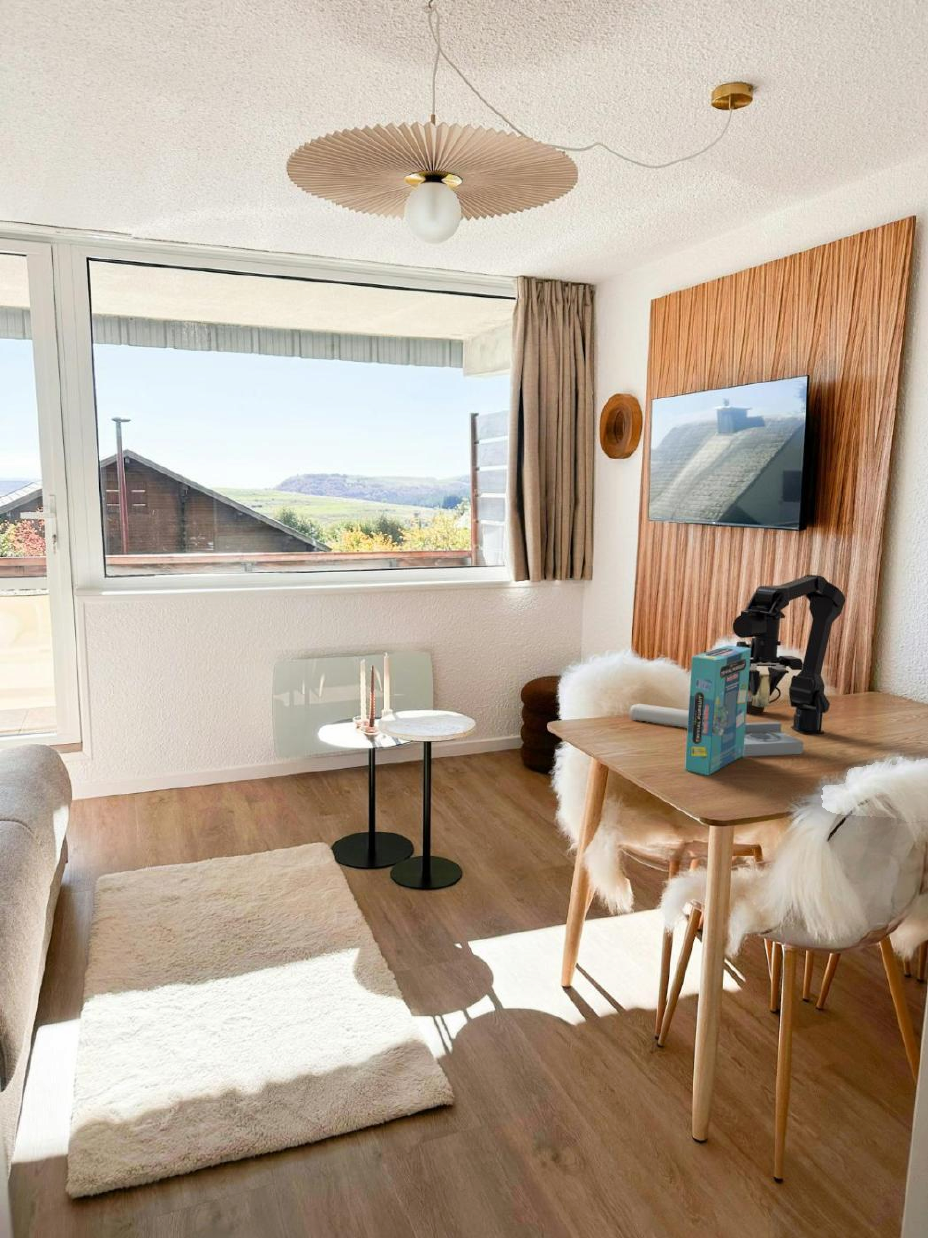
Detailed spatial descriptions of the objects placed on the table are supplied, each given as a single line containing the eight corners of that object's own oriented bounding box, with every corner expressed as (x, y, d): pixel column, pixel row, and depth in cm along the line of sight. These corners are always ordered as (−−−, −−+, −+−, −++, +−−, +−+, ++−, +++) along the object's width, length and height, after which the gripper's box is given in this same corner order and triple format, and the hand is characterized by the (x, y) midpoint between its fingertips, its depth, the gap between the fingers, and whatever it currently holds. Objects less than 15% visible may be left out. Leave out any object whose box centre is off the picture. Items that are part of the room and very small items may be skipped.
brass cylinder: (763, 703, 227) (766, 673, 225) (771, 707, 223) (774, 676, 222) (749, 703, 226) (752, 673, 225) (757, 707, 222) (759, 676, 221)
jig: (775, 740, 228) (777, 721, 227) (802, 753, 216) (804, 734, 216) (720, 742, 225) (721, 723, 224) (744, 756, 213) (745, 736, 212)
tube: (626, 707, 244) (715, 720, 231) (632, 698, 248) (720, 710, 235) (627, 724, 246) (716, 737, 233) (634, 714, 250) (721, 727, 237)
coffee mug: (730, 709, 260) (732, 677, 258) (752, 707, 263) (754, 675, 262) (758, 719, 249) (761, 685, 248) (781, 716, 253) (783, 683, 251)
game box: (719, 751, 217) (726, 644, 213) (744, 756, 213) (751, 648, 209) (683, 770, 201) (690, 655, 197) (709, 776, 197) (717, 659, 193)
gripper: (783, 631, 231) (778, 688, 233) (718, 630, 228) (713, 688, 230) (806, 638, 220) (801, 698, 222) (738, 637, 217) (733, 698, 219)
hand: (761, 695), depth 224 cm, fingers closed on brass cylinder, 4 cm apart
